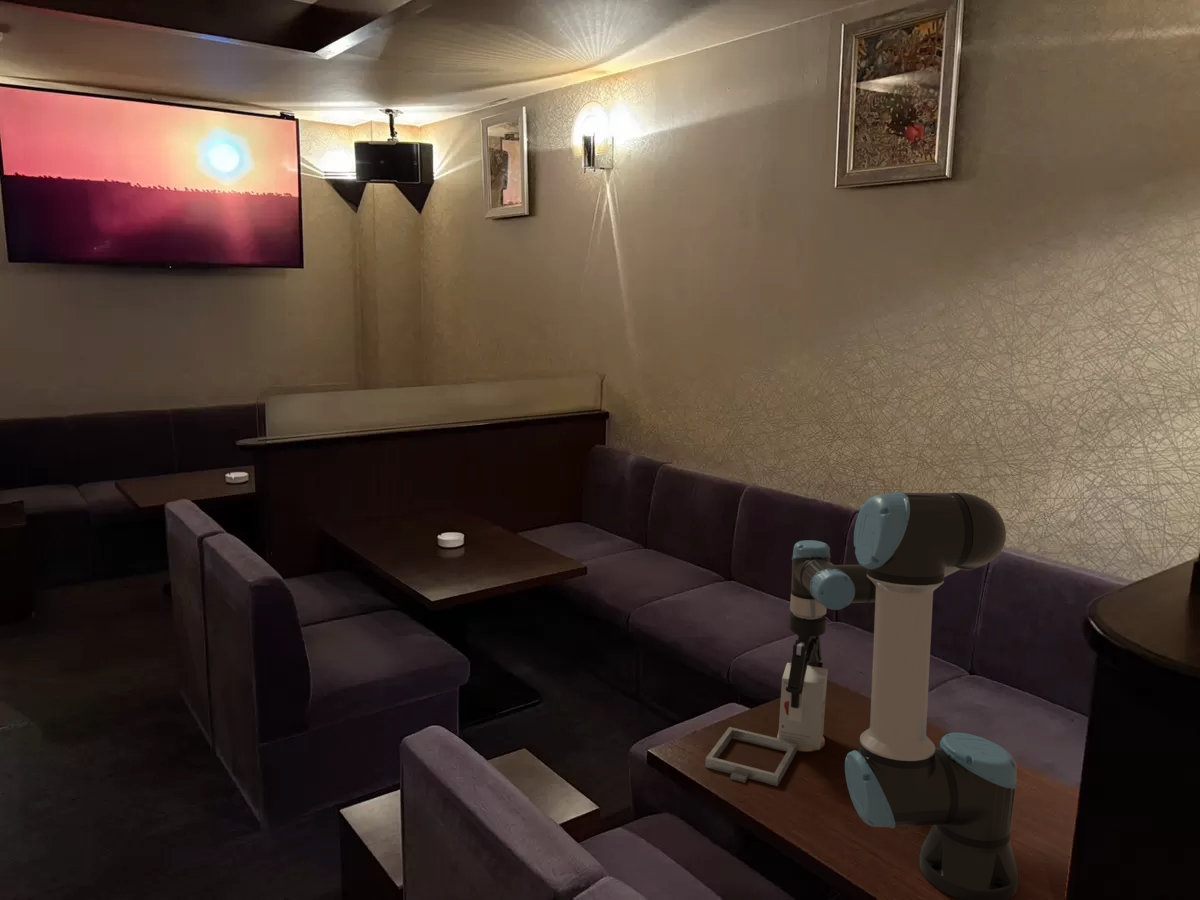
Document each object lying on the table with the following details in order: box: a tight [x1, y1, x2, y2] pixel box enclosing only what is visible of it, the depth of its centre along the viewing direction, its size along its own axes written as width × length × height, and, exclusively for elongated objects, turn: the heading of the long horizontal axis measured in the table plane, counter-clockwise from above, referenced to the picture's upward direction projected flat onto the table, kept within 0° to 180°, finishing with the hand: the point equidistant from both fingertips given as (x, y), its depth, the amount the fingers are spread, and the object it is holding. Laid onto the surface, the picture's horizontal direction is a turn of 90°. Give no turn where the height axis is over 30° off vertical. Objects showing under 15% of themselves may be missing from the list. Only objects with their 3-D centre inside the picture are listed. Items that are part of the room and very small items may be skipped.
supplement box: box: [777, 662, 829, 751], centre depth 189 cm, size 9×9×15 cm
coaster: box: [776, 731, 826, 753], centre depth 190 cm, size 10×10×1 cm
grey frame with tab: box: [704, 726, 798, 787], centre depth 182 cm, size 19×15×2 cm
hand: (803, 707), depth 189 cm, fingers open, 13 cm apart
